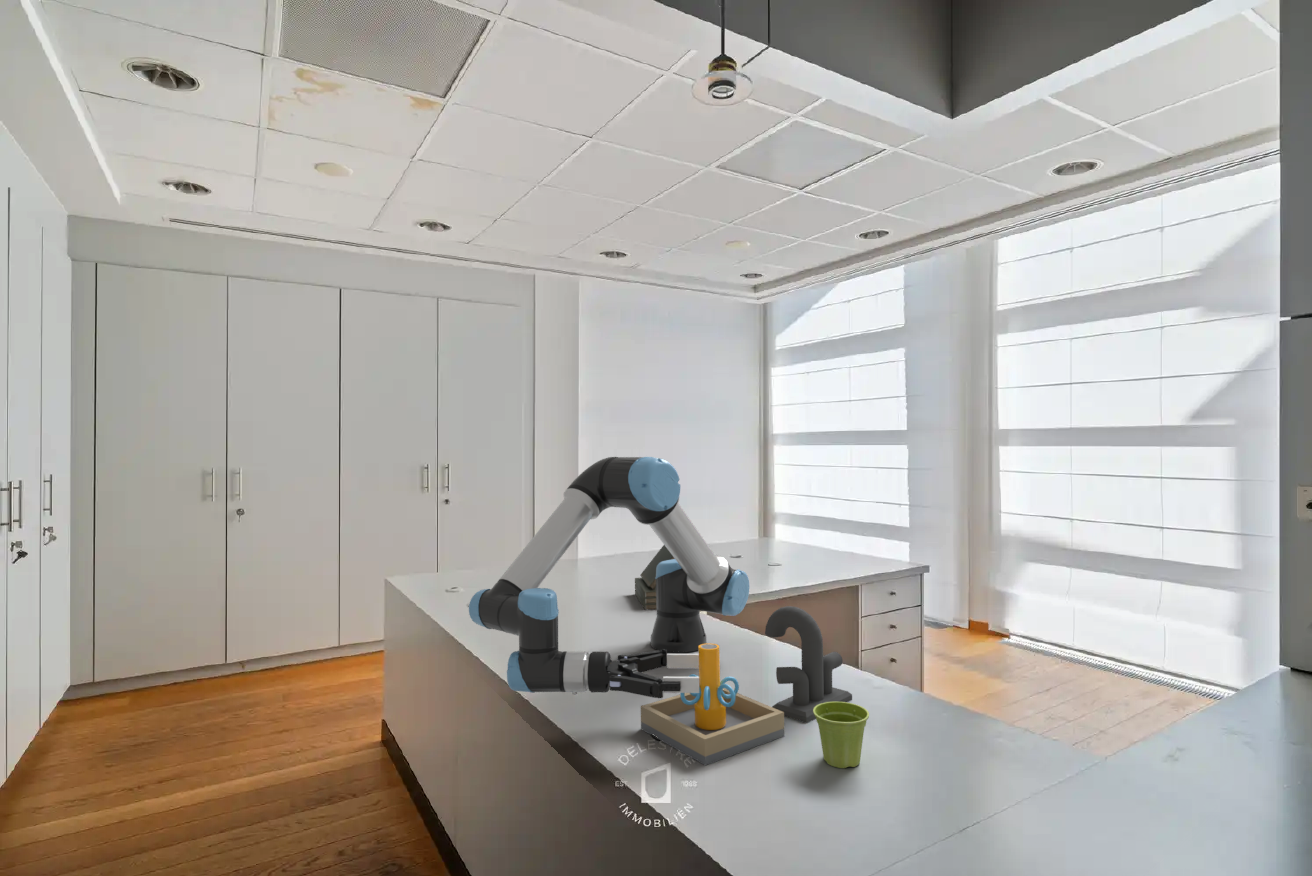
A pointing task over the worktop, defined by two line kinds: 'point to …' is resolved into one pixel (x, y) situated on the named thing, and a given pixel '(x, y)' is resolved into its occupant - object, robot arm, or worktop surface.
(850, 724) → the plant pot
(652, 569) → the grey slanted block structure
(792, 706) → the faucet
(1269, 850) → the worktop surface
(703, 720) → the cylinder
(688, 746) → the tan and grey tray
